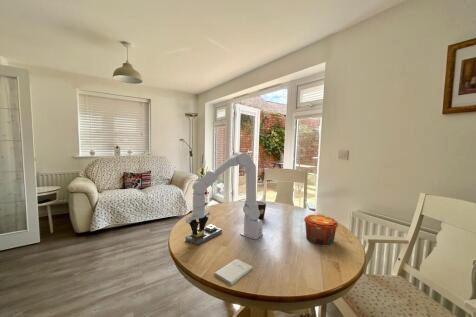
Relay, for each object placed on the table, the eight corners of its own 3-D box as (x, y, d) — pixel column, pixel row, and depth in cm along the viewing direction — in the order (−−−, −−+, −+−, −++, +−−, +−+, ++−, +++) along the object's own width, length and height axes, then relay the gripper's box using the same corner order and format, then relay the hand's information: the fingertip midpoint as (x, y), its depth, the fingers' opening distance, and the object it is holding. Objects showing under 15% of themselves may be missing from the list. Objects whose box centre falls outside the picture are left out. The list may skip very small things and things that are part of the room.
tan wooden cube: (203, 238, 102) (204, 229, 101) (197, 240, 98) (198, 232, 98) (198, 235, 104) (198, 227, 104) (192, 238, 101) (192, 230, 100)
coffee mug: (265, 215, 138) (266, 201, 137) (265, 220, 130) (266, 205, 129) (248, 214, 139) (248, 200, 138) (247, 219, 131) (247, 204, 130)
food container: (333, 235, 111) (334, 216, 110) (339, 250, 95) (341, 227, 95) (302, 231, 115) (303, 212, 114) (303, 244, 100) (305, 222, 99)
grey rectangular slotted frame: (221, 232, 110) (222, 229, 110) (197, 245, 95) (197, 241, 95) (210, 228, 114) (210, 225, 114) (185, 240, 100) (185, 236, 100)
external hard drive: (214, 276, 74) (236, 261, 84) (231, 287, 69) (252, 270, 79) (214, 272, 74) (236, 258, 84) (231, 282, 69) (252, 266, 79)
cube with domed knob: (215, 233, 109) (216, 225, 109) (210, 236, 106) (211, 228, 105) (210, 231, 111) (210, 224, 111) (205, 234, 108) (205, 226, 108)
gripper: (203, 201, 108) (202, 226, 109) (181, 207, 96) (180, 235, 97) (213, 203, 104) (212, 229, 105) (191, 210, 92) (191, 240, 93)
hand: (198, 232), depth 101 cm, fingers closed on tan wooden cube, 4 cm apart
